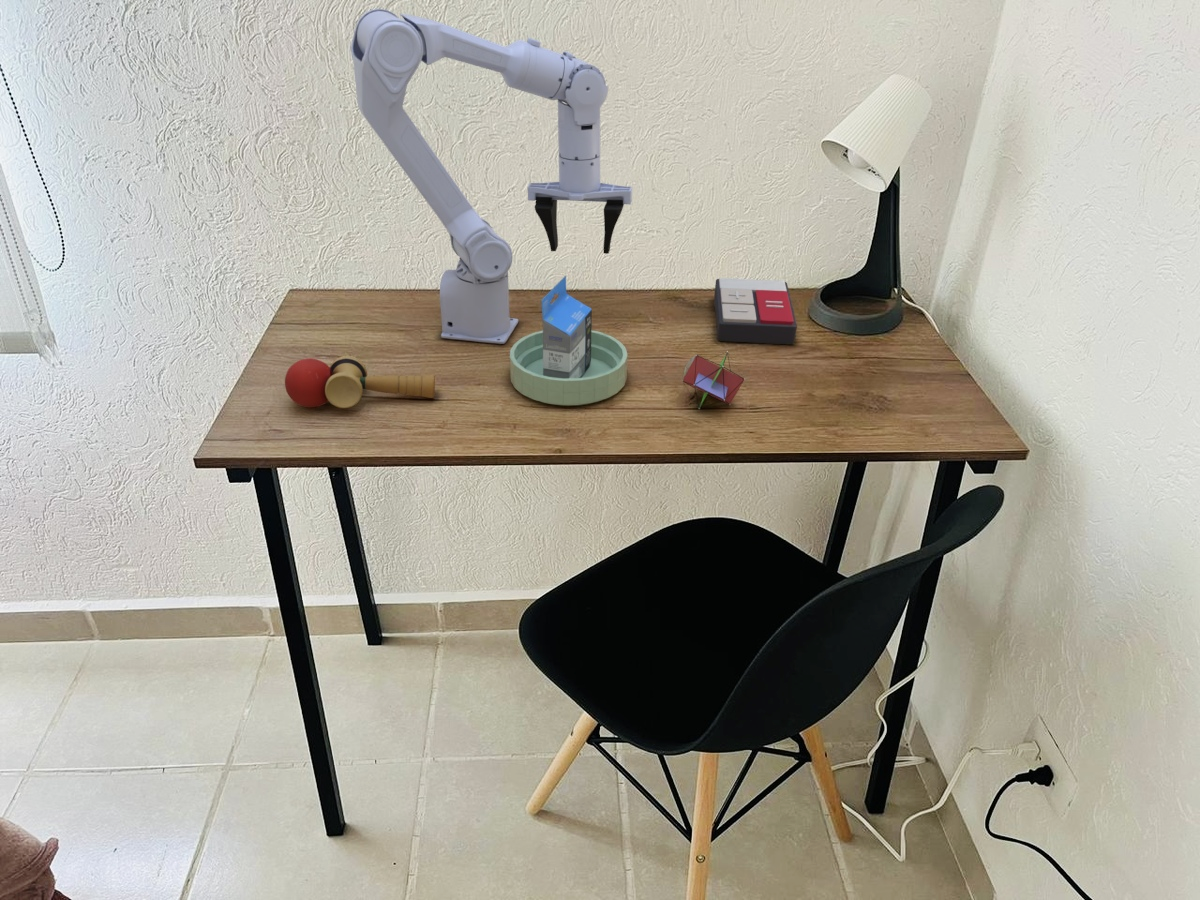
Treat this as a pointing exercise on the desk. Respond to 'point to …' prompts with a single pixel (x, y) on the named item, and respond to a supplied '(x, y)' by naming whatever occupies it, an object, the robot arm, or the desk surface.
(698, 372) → the geometric puzzle
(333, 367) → the kendama
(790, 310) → the calculator
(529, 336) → the bowl
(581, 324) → the tape cartridge
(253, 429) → the desk surface
